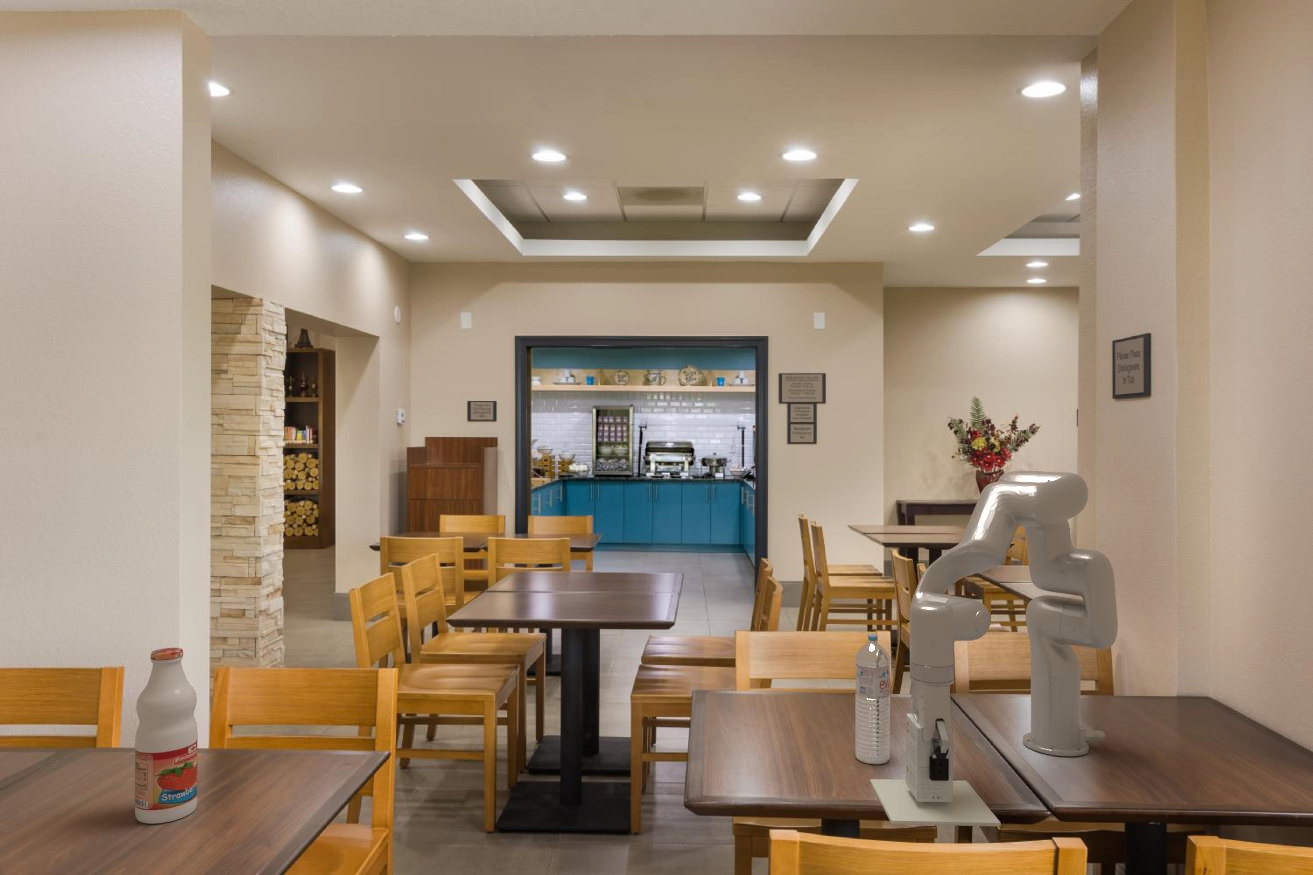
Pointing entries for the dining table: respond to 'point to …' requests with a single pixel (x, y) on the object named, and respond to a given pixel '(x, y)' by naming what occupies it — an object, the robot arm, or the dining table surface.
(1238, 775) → the dining table surface
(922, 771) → the small box
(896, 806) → the mat
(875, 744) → the water bottle
